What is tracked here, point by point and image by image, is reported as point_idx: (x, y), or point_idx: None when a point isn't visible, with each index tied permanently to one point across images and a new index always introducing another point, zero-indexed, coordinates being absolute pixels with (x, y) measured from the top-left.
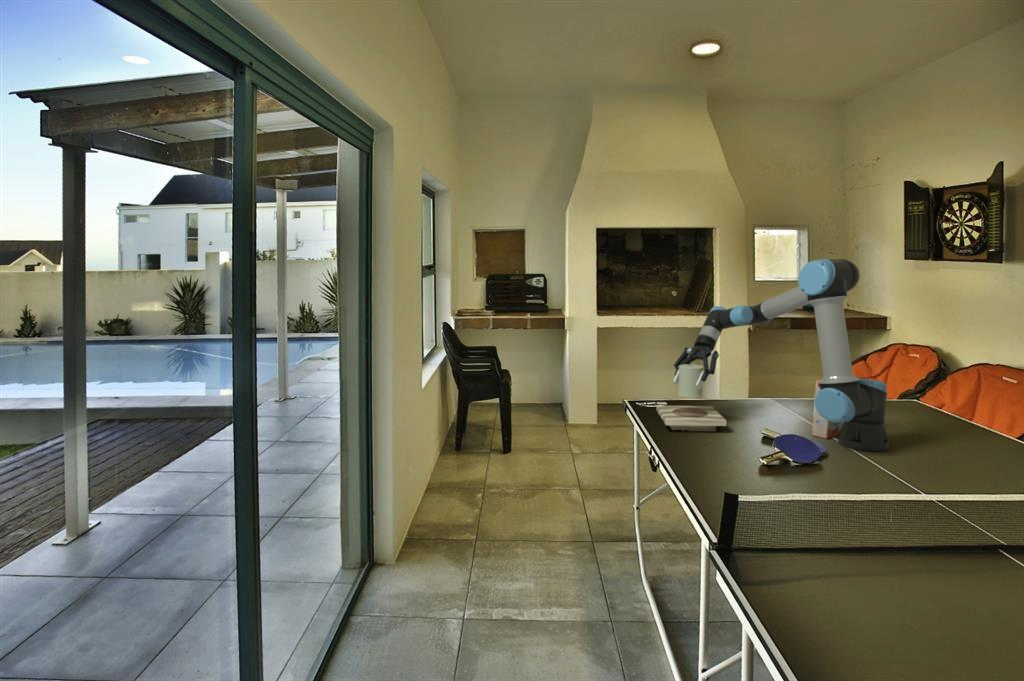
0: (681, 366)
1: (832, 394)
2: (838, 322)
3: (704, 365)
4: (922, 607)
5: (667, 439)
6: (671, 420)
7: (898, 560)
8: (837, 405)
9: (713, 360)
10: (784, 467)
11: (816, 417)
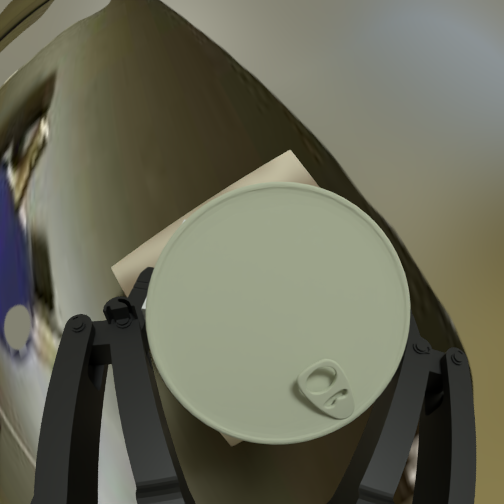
0: (372, 261)
1: None
2: None
3: (140, 379)
4: (17, 6)
5: (253, 120)
6: (274, 159)
7: (5, 30)
8: None
9: (46, 428)
10: (21, 126)
11: None
